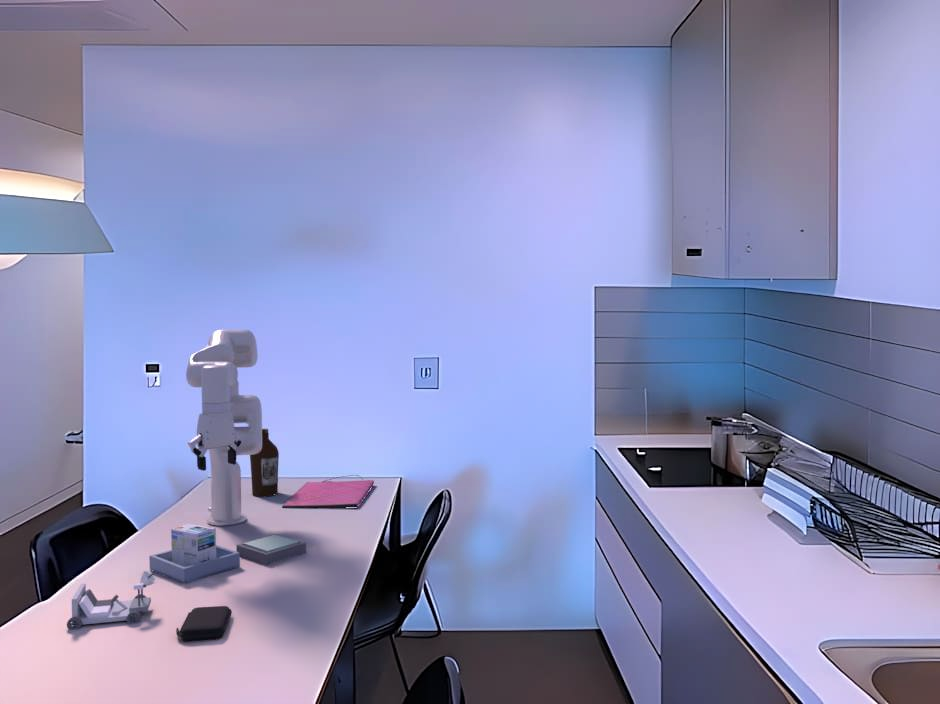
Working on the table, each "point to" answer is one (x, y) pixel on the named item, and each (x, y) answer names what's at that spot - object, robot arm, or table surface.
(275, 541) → the pad
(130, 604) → the toy car
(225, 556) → the tray
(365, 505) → the table surface
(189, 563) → the light bulb box
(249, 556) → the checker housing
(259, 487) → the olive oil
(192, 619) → the carrying case or bag
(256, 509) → the table surface
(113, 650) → the table surface
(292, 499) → the laptop bag
